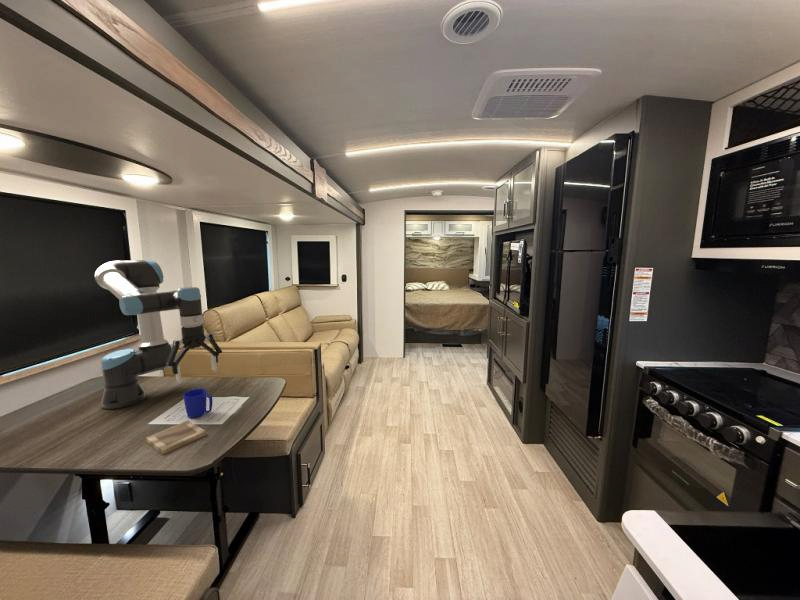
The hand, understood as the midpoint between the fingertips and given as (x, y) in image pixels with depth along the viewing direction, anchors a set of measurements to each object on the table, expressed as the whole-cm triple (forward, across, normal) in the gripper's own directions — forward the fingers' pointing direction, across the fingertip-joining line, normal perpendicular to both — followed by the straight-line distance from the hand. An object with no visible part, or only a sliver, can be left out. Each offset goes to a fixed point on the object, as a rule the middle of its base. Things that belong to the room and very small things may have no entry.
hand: (197, 375), depth 128 cm
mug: (+18, 0, 0) cm, 18 cm away
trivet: (+18, -13, -10) cm, 24 cm away
